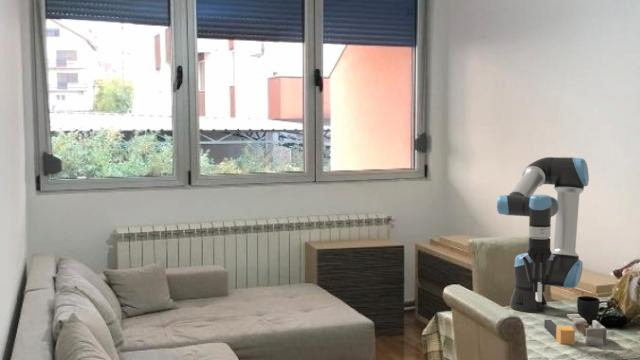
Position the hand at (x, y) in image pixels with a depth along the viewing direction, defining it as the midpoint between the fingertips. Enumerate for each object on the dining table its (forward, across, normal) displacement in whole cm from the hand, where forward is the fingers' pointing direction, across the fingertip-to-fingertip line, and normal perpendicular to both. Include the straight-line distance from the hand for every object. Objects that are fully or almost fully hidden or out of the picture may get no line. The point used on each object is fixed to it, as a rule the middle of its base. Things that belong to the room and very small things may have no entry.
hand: (538, 300), depth 257 cm
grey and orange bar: (+14, +9, +3) cm, 17 cm away
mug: (+14, +27, +17) cm, 35 cm away
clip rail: (+14, +18, +2) cm, 23 cm away
